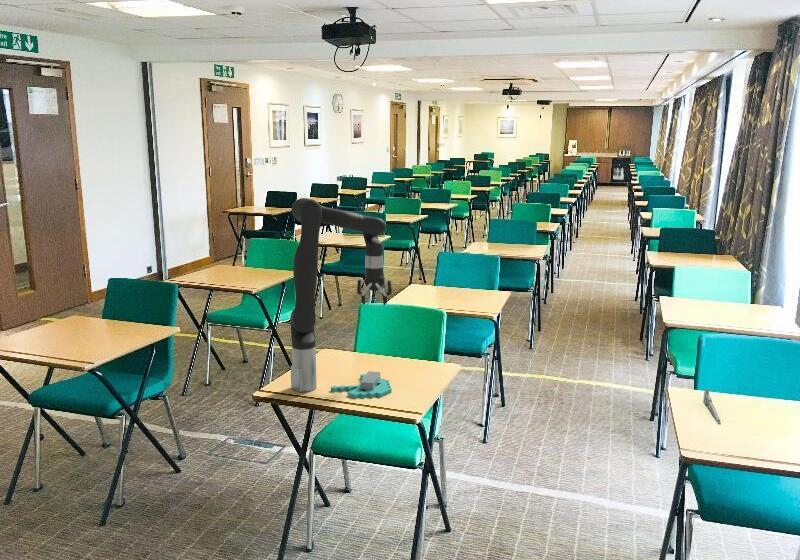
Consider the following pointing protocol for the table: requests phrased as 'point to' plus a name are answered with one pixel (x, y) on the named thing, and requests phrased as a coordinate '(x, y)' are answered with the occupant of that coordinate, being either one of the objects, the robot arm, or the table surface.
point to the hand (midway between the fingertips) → (374, 304)
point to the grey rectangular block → (370, 380)
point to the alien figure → (356, 391)
